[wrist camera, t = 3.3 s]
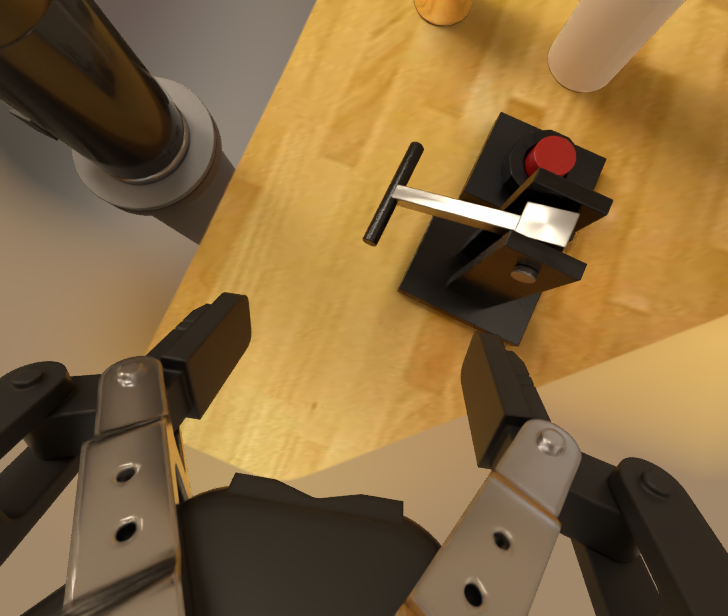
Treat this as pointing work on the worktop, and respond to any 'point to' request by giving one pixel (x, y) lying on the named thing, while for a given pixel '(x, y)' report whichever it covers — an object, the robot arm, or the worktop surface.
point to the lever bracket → (499, 261)
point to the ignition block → (518, 163)
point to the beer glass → (443, 10)
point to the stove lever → (469, 211)
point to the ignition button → (551, 156)
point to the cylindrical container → (604, 39)
